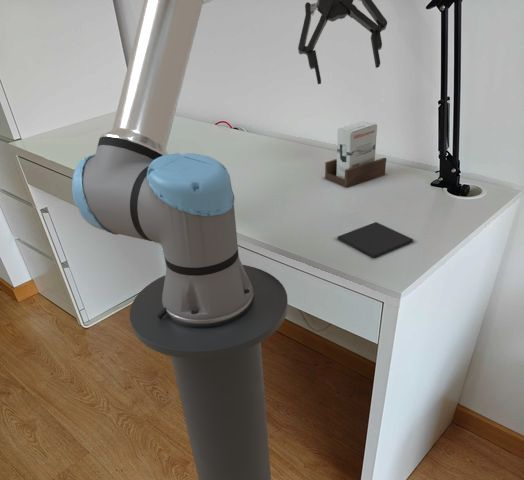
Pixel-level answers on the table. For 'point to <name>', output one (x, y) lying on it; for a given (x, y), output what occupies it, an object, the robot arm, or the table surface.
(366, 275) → the table surface
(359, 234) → the mat
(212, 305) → the robot arm
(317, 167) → the table surface
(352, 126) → the ink box
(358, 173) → the holder
